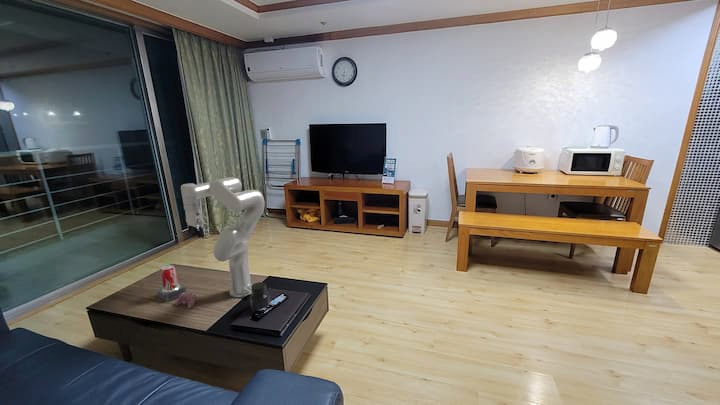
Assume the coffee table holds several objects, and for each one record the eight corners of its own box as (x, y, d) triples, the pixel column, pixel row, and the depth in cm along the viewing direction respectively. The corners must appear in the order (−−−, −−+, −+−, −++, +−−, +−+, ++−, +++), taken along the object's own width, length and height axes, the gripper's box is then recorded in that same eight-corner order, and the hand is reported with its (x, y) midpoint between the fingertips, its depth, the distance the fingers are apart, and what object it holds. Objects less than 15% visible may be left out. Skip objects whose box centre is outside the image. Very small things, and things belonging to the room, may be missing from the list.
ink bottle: (263, 299, 156) (261, 279, 153) (274, 305, 151) (272, 283, 148) (247, 309, 148) (244, 287, 145) (258, 315, 144) (255, 292, 141)
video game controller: (196, 308, 153) (199, 293, 154) (188, 309, 149) (191, 294, 150) (181, 304, 156) (184, 290, 157) (173, 305, 152) (176, 291, 153)
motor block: (187, 293, 163) (186, 286, 162) (167, 302, 155) (166, 295, 154) (174, 286, 171) (173, 279, 170) (154, 294, 164) (153, 287, 162)
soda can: (171, 291, 158) (167, 270, 155) (160, 290, 159) (155, 269, 156) (181, 284, 164) (178, 264, 161) (170, 283, 166) (166, 263, 163)
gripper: (206, 206, 164) (211, 236, 168) (190, 202, 174) (195, 230, 178) (193, 209, 158) (198, 240, 162) (177, 205, 168) (182, 234, 172)
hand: (196, 235), depth 170 cm, fingers open, 9 cm apart
